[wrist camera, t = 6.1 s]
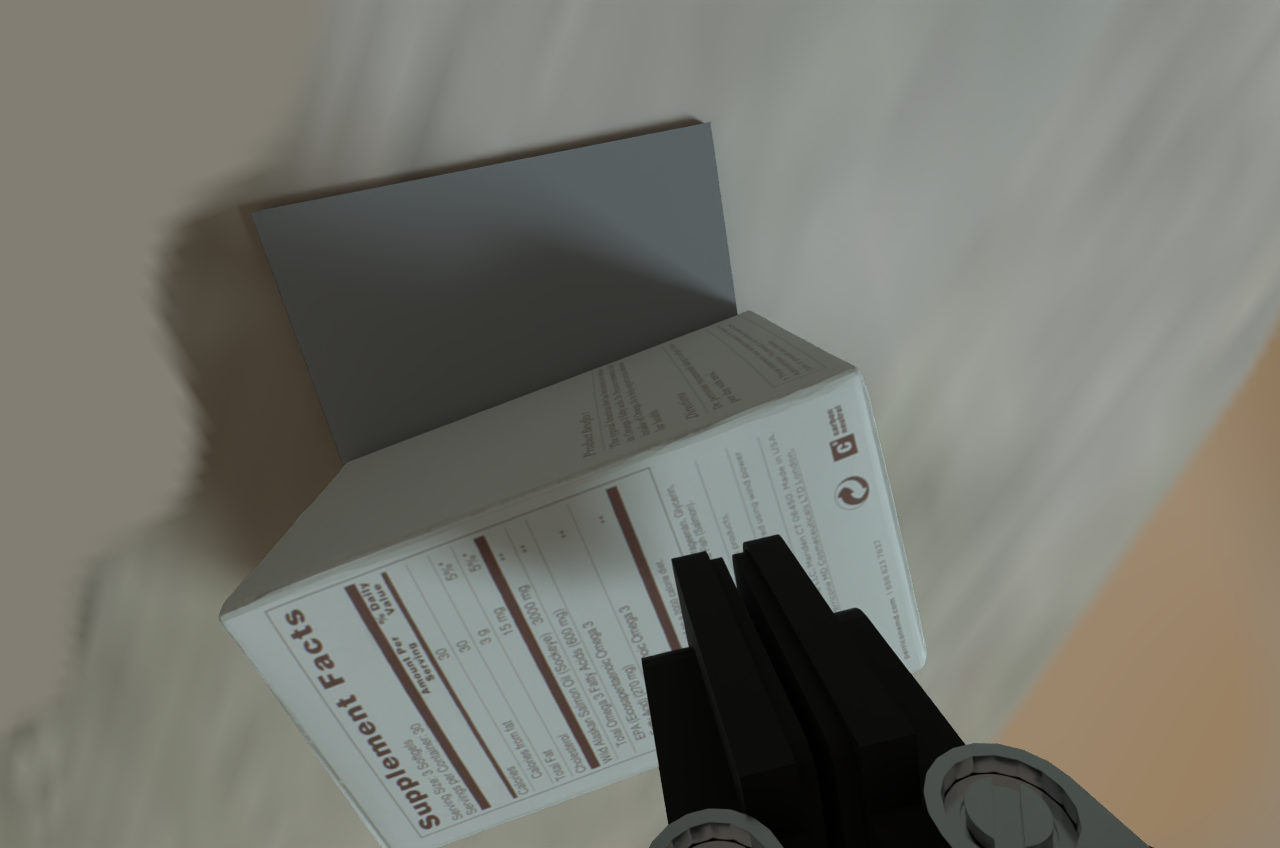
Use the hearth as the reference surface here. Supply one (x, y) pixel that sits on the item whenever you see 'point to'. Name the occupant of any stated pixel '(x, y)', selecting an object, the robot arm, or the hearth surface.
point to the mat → (498, 279)
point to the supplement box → (559, 572)
